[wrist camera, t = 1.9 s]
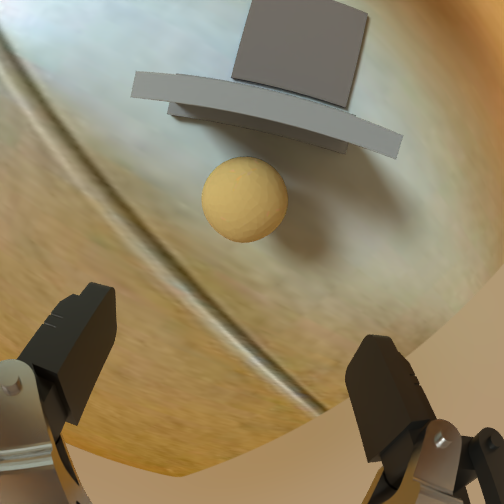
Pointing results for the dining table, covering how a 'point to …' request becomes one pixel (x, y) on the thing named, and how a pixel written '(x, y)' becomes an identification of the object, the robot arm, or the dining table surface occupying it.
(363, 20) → the mat
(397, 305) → the dining table surface
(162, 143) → the dining table surface
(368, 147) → the screen
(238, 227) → the yellow light bulb
